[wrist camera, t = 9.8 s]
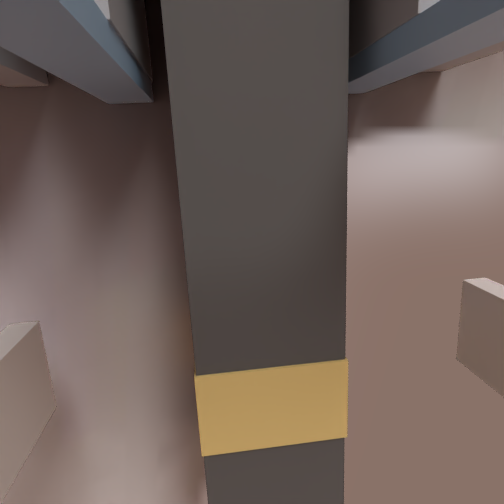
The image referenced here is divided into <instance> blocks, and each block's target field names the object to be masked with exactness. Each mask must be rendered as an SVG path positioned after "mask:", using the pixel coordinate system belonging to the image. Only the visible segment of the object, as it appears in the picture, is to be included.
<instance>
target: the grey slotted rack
mask: <svg viewBox="0 0 504 504" xmlns="http://www.w3.org/2000/svg"><path fill="white" fill-rule="evenodd" d="M94 1H95V3H96V4H97V6H98V7H99V8H100V10H101V11H102V13H103V14H104V15H105V17H106V18H107V20H108V21H109V23H110V24H111V25H112V27H113V28H114V30H115V31H116V32H117V34H118V35H119V37H120V38H121V40H122V41H123V42H124V44H125V45H126V47H127V48H128V49H129V51H130V52H131V54H132V55H133V57H134V58H135V59H136V61H137V62H138V64H139V65H140V66H141V68H142V69H143V71H144V72H145V74H146V75H147V76H148V78H149V79H150V81H151V82H153V77H152V68H151V58H150V49H149V40H148V31H147V22H146V13H145V4H144V0H94ZM439 1H440V0H349V59H350V58H352V57H353V56H355V55H356V54H358V53H359V52H361V51H363V50H364V49H366V48H367V47H369V46H370V45H372V44H373V43H375V42H377V41H378V40H380V39H381V38H383V37H384V36H386V35H387V34H389V33H391V32H392V31H394V30H395V29H397V28H398V27H400V26H401V25H403V24H404V23H406V22H408V21H409V20H411V19H412V18H414V17H415V16H417V15H418V14H420V13H422V12H423V11H425V10H426V9H428V8H429V7H431V6H432V5H434V4H436V3H437V2H439ZM503 50H504V41H502V42H499V43H497V44H494V45H491V46H489V47H486V48H483V49H481V50H478V51H475V52H473V53H470V54H467V55H465V56H462V57H459V58H457V59H454V60H451V61H449V62H446V63H443V64H441V65H438V66H435V67H433V68H430V69H427V70H425V71H422V72H436V71H445V70H448V69H451V68H454V67H456V66H459V65H462V64H465V63H468V62H471V61H474V60H477V59H480V58H483V57H486V56H489V55H491V54H494V53H497V52H500V51H503ZM0 85H3V86H5V87H30V86H49V83H48V77H47V71H46V70H44V69H42V68H40V67H38V66H36V65H34V64H32V63H31V62H29V61H27V60H25V59H23V58H21V57H19V56H17V55H16V54H14V53H12V52H10V51H8V50H6V49H4V48H2V47H1V46H0Z"/></svg>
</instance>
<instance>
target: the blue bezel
mask: <svg viewBox="0 0 504 504" xmlns="http://www.w3.org/2000/svg"><path fill="white" fill-rule="evenodd" d="M502 41H504V0H440V1H439V2H437V3H436V4H434V5H432V6H431V7H429V8H428V9H426V10H425V11H423V12H422V13H420V14H418V15H417V16H415V17H414V18H412V19H411V20H409V21H408V22H406V23H404V24H403V25H401V26H400V27H398V28H397V29H395V30H394V31H392V32H391V33H389V34H387V35H386V36H384V37H383V38H381V39H380V40H378V41H377V42H375V43H373V44H372V45H370V46H369V47H367V48H366V49H364V50H363V51H361V52H359V53H358V54H356V55H355V56H353V57H352V58H350V59H349V62H348V94H358V93H366V92H369V91H371V90H374V89H377V88H379V87H382V86H385V85H387V84H390V83H393V82H395V81H398V80H401V79H403V78H406V77H409V76H411V75H414V74H417V73H419V72H422V71H425V70H427V69H430V68H433V67H435V66H438V65H441V64H443V63H446V62H449V61H451V60H454V59H457V58H459V57H462V56H465V55H467V54H470V53H473V52H475V51H478V50H481V49H483V48H486V47H489V46H491V45H494V44H497V43H499V42H502ZM0 46H1V47H2V48H4V49H6V50H8V51H10V52H12V53H14V54H16V55H17V56H19V57H21V58H23V59H25V60H27V61H29V62H31V63H32V64H34V65H36V66H38V67H40V68H42V69H44V70H46V71H47V72H49V73H51V74H53V75H55V76H57V77H59V78H61V79H63V80H64V81H66V82H68V83H70V84H72V85H74V86H76V87H78V88H79V89H81V90H83V91H85V92H87V93H89V94H91V95H93V96H94V97H96V98H98V99H100V100H102V101H104V102H106V103H108V104H122V103H145V102H154V100H153V91H152V82H151V81H150V79H149V78H148V76H147V75H146V74H145V72H144V71H143V69H142V68H141V66H140V65H139V64H138V62H137V61H136V59H135V58H134V57H133V55H132V54H131V52H130V51H129V49H128V48H127V47H126V45H125V44H124V42H123V41H122V40H121V38H120V37H119V35H118V34H117V32H116V31H115V30H114V28H113V27H112V25H111V24H110V23H109V21H108V20H107V18H106V17H105V15H104V14H103V13H102V11H101V10H100V8H99V7H98V6H97V4H96V3H95V1H94V0H0Z"/></svg>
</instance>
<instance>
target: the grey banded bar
mask: <svg viewBox="0 0 504 504" xmlns="http://www.w3.org/2000/svg"><path fill="white" fill-rule="evenodd" d="M161 10H162V20H163V31H164V41H165V52H166V62H167V73H168V84H169V94H170V105H171V115H172V126H173V136H174V147H175V157H176V168H177V179H178V189H179V200H180V210H181V221H182V231H183V242H184V253H185V263H186V274H187V284H188V295H189V305H190V316H191V326H192V337H193V348H194V358H195V368H194V382H195V392H196V402H197V413H198V423H199V434H200V444H201V454H202V457H203V456H204V464H205V474H206V485H207V495H208V504H344V438H345V437H347V422H348V420H347V419H348V416H347V415H348V360H347V358H346V357H345V331H346V330H345V328H346V325H345V324H346V323H345V322H346V239H347V152H348V62H349V0H161Z"/></svg>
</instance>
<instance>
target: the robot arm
mask: <svg viewBox="0 0 504 504" xmlns="http://www.w3.org/2000/svg"><path fill="white" fill-rule="evenodd" d="M456 359H457V360H458V361H459V362H461V363H462V364H463V365H464V366H465V367H467V368H468V369H469V370H471V371H472V372H473V373H474V374H475V375H477V376H478V377H479V378H480V379H482V380H483V381H484V382H485V383H487V384H488V385H489V386H490V387H491V388H493V389H494V390H495V391H496V392H498V393H499V394H500V395H502V396H503V397H504V285H501V284H499V283H497V282H494V281H492V280H490V279H488V278H477V279H467V280H463V286H462V298H461V310H460V322H459V334H458V346H457V357H456ZM56 407H57V406H56V401H55V396H54V391H53V387H52V382H51V377H50V372H49V367H48V362H47V357H46V353H45V348H44V343H43V338H42V333H41V328H40V323H39V321H34V322H23V323H13V324H9V325H8V326H7V327H6V328H5V329H4V330H2V331H1V332H0V504H1V503H2V501H3V499H4V498H5V496H6V494H7V492H8V491H9V489H10V487H11V486H12V484H13V482H14V480H15V479H16V477H17V475H18V473H19V472H20V470H21V468H22V466H23V465H24V463H25V461H26V459H27V458H28V456H29V454H30V452H31V451H32V449H33V447H34V445H35V444H36V442H37V440H38V439H39V437H40V435H41V433H42V432H43V430H44V428H45V426H46V425H47V423H48V421H49V419H50V418H51V416H52V414H53V412H54V411H55V409H56Z"/></svg>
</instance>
